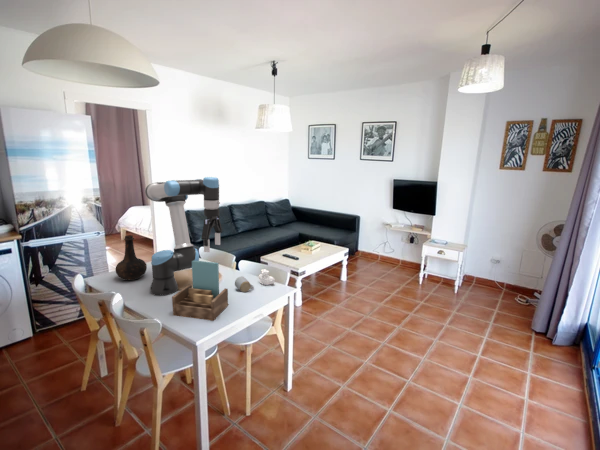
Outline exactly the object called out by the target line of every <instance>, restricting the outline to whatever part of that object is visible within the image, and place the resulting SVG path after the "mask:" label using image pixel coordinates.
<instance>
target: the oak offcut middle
mask: <svg viewBox="0 0 600 450" xmlns="http://www.w3.org/2000/svg"><path fill="white" fill-rule="evenodd" d="M195 293H196V294H204V295H212V290H203V289H195V288H193V287H192V288H189V299H193V294H195Z"/></svg>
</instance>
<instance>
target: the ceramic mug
mask: <svg viewBox="0 0 600 450" xmlns="http://www.w3.org/2000/svg"><path fill="white" fill-rule="evenodd" d="M234 286H235V288H236V289H237V290H239V291H240V292H242V293H247V292H248V291H250V290H254V287H255V286H254V285H252V284H251V283H250V281H249V280H248V279H247V278H246V277H245V276H238V277H237V278H236V279H235V281H234Z"/></svg>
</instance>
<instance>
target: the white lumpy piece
mask: <svg viewBox="0 0 600 450" xmlns="http://www.w3.org/2000/svg"><path fill="white" fill-rule="evenodd" d="M260 272H261V273H260V274H259V275H258V278H257V279H259V282H260V283H261V284H262V285H263V286H264V285H265V286H268V285H274V284H275V280H276V279H275V277H274V276H270V275H269V273H270V270H267V269H265V268H264V269H261V270H260Z"/></svg>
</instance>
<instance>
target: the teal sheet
mask: <svg viewBox="0 0 600 450" xmlns="http://www.w3.org/2000/svg"><path fill="white" fill-rule="evenodd" d="M219 268H220V267H219V262H215V261H214V262H213V261H205V260H204V261H202V260H199V261H194V260H193V261H192V268H191V276H192V277H191V278H192V288H195V289H203V290H212V295H213V298H215V297H216V296H218V295H219V294H220V275H219V274H220V273H219V272H220V270H219Z"/></svg>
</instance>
